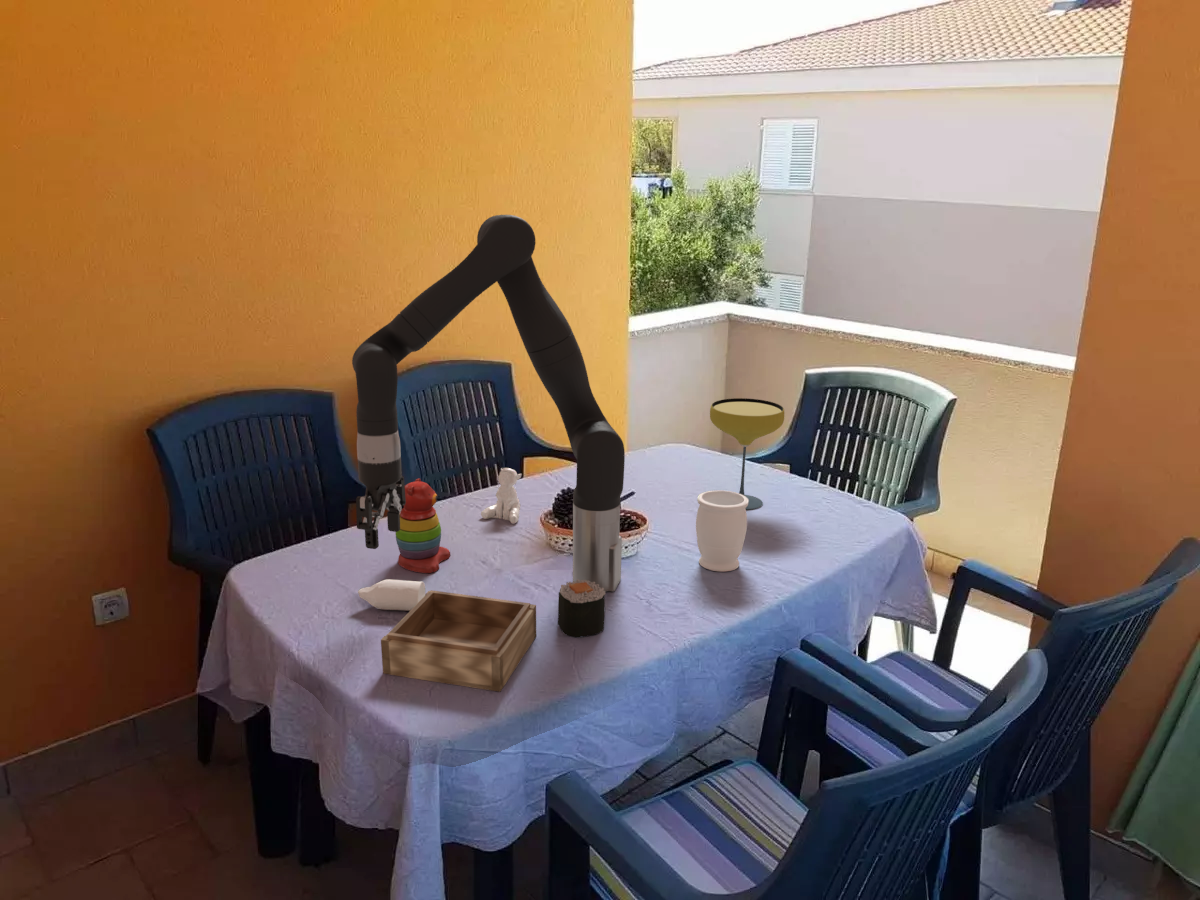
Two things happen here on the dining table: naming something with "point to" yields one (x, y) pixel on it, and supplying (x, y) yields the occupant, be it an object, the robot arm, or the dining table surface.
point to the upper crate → (460, 622)
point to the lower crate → (460, 659)
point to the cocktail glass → (747, 426)
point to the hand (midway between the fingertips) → (383, 539)
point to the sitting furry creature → (505, 498)
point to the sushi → (581, 608)
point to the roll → (394, 594)
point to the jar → (721, 529)
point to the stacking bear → (420, 530)
